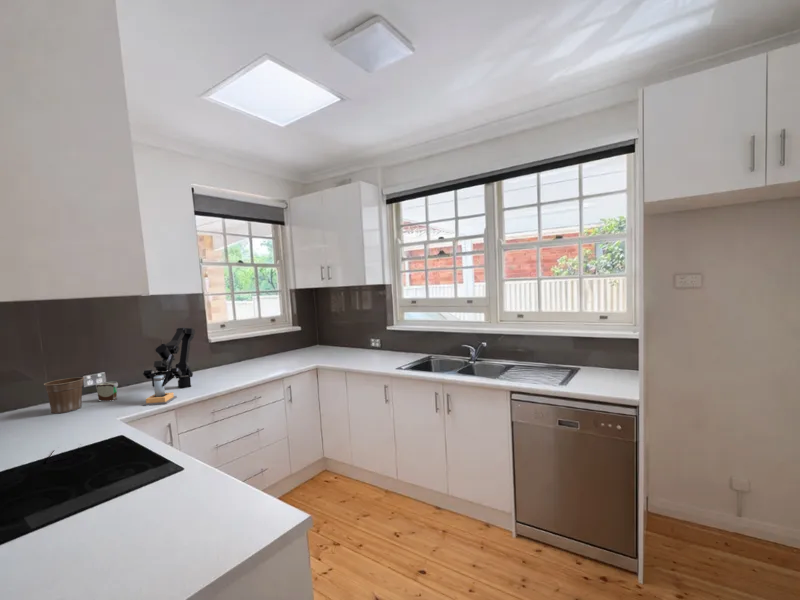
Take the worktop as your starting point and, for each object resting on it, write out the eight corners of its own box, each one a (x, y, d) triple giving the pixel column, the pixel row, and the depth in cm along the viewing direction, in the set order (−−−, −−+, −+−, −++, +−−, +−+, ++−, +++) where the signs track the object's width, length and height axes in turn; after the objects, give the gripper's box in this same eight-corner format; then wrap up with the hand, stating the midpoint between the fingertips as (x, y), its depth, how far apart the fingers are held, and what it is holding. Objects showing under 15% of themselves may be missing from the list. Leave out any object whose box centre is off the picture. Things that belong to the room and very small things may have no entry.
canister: (160, 395, 211) (159, 374, 210) (167, 396, 209) (165, 375, 209) (152, 398, 206) (151, 377, 205) (159, 398, 204) (157, 377, 204)
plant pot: (52, 408, 203) (50, 379, 203) (90, 403, 210) (87, 375, 210) (40, 417, 189) (38, 386, 188) (81, 411, 196) (78, 381, 195)
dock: (154, 399, 213) (154, 393, 213) (176, 397, 214) (176, 391, 214) (142, 405, 201) (142, 399, 201) (166, 404, 202) (166, 397, 202)
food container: (124, 397, 219) (123, 381, 219) (115, 400, 213) (114, 383, 213) (105, 397, 221) (104, 381, 220) (96, 401, 215) (95, 384, 214)
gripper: (143, 356, 209) (133, 380, 199) (178, 353, 212) (170, 377, 201) (151, 366, 217) (142, 390, 207) (185, 364, 220) (177, 387, 209)
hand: (158, 386), depth 206 cm, fingers closed on canister, 5 cm apart
